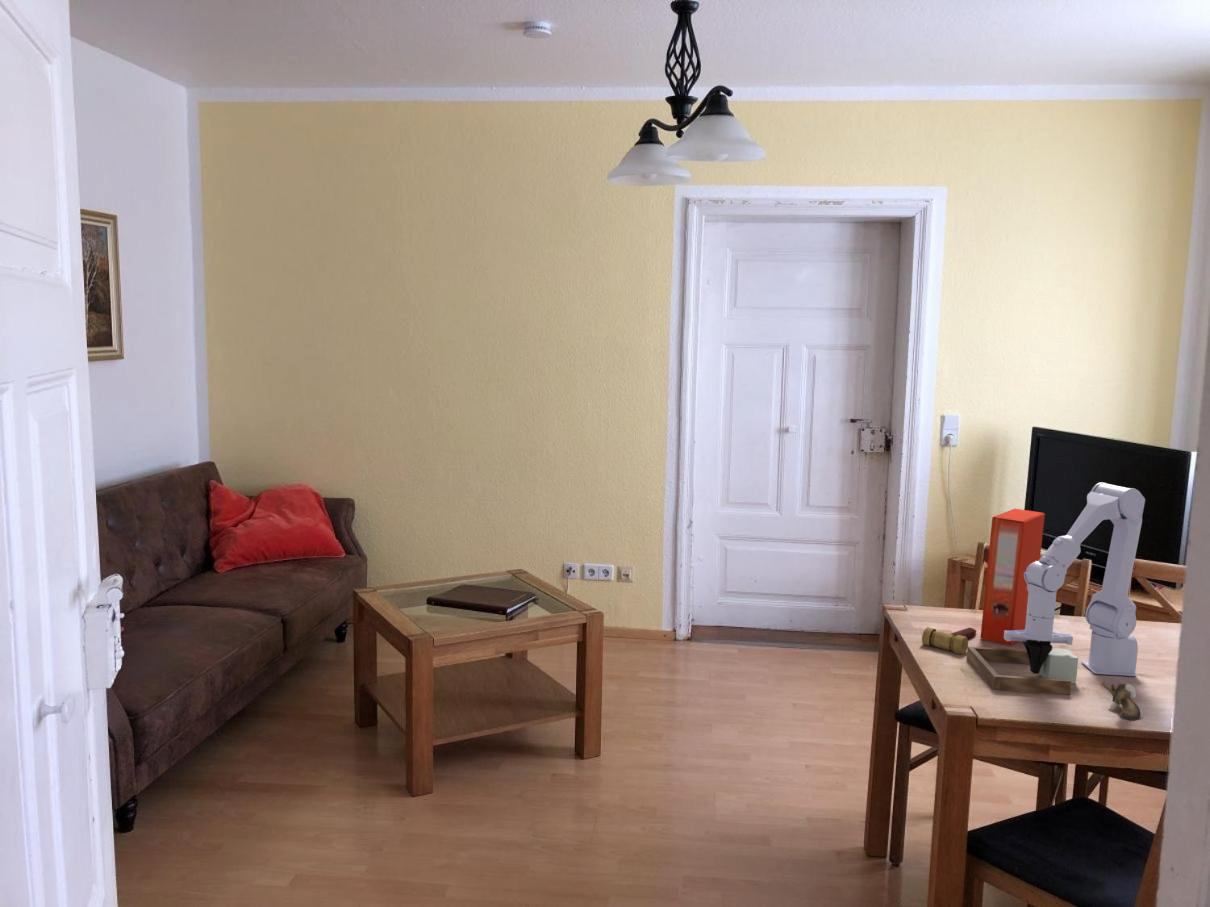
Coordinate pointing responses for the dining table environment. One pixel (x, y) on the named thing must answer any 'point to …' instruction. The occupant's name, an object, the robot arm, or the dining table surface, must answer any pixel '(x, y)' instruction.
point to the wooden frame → (1012, 683)
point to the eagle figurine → (1124, 701)
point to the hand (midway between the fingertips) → (1034, 672)
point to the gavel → (948, 639)
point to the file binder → (1009, 572)
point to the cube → (1060, 665)
